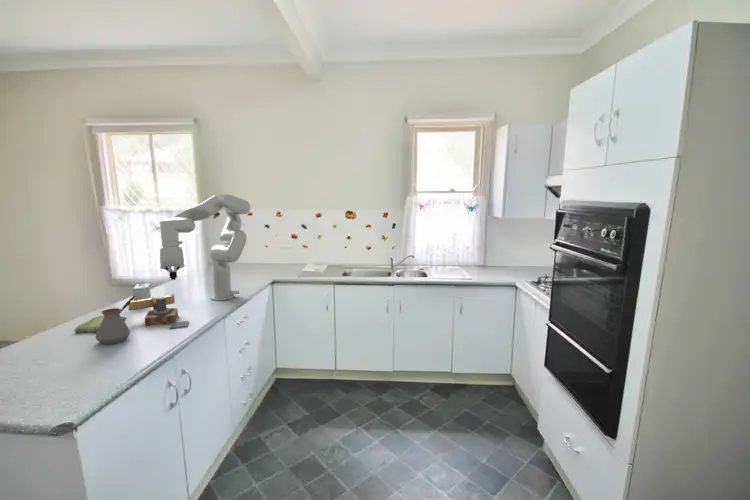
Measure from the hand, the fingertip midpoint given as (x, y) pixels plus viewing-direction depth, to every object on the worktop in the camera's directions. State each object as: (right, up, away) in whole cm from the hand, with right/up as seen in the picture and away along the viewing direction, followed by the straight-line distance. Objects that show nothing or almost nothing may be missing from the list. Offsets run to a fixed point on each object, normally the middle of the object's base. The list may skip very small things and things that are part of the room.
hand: (173, 279), depth 178 cm
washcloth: (-22, -20, -19) cm, 35 cm away
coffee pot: (-5, -22, -29) cm, 37 cm away
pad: (+12, -20, -16) cm, 28 cm away
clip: (-6, -13, -7) cm, 16 cm away
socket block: (0, -19, -9) cm, 21 cm away
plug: (+1, -19, -10) cm, 22 cm away
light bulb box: (-24, -15, +13) cm, 32 cm away
